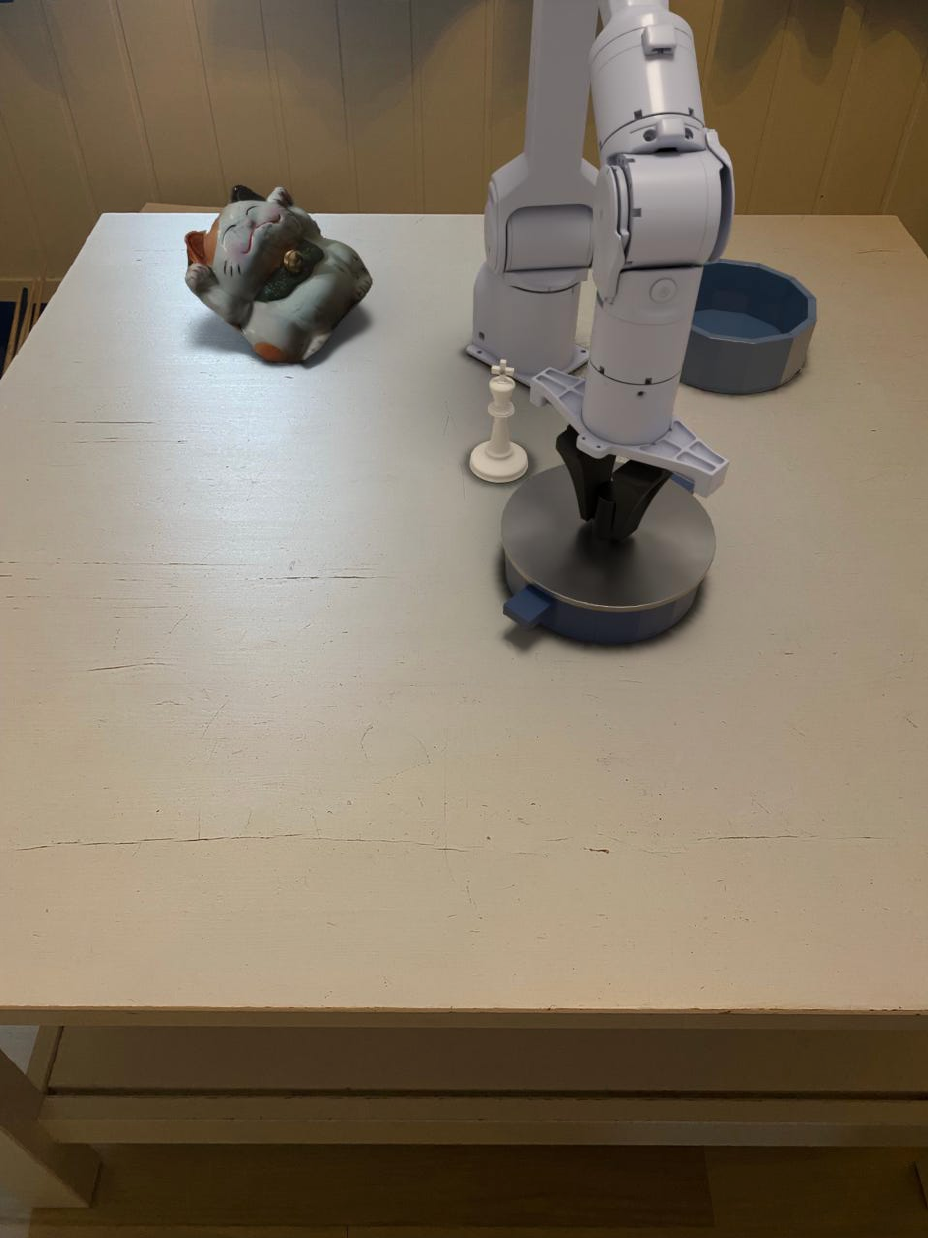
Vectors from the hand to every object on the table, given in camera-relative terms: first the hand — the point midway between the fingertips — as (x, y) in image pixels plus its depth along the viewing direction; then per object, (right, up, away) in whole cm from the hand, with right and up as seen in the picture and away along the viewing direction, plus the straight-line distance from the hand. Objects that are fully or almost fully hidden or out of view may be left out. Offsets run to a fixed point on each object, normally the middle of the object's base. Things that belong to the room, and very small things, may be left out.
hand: (608, 522), depth 68 cm
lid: (0, -1, +1) cm, 1 cm away
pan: (0, -3, +4) cm, 5 cm away
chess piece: (-7, +6, +12) cm, 15 cm away
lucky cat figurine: (-28, +22, +26) cm, 44 cm away
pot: (+15, +19, +24) cm, 34 cm away
